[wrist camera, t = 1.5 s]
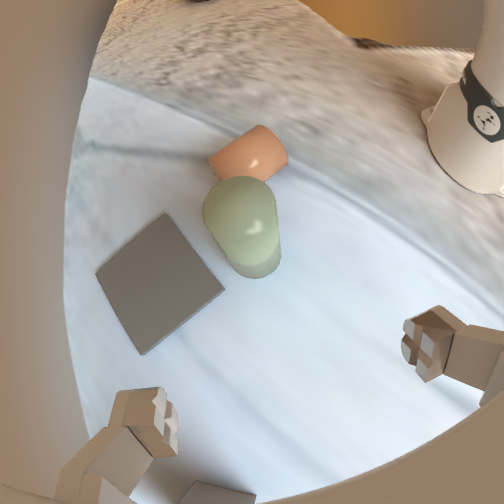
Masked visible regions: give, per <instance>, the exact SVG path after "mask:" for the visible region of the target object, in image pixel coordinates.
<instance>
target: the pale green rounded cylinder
mask: <svg viewBox="0 0 504 504" xmlns="http://www.w3.org/2000/svg"><path fill="white" fill-rule="evenodd" d="M202 215H203V220H204V223H205V225H206V227H207V228H208V230H209V231H210V233H211V234H212V236H213V237H214V239H215V240H216V242H217V243H218V245H219V246H220V248H221V249H222V251H223V252H224V254H225V255H226V257H227V258H228V260H229V261H230V263H231V264H232V266H233V267H234V269H235V270H236V271H237V272H238V273H239V274H240V275H242V276H244V277H247V278H251V279H258V278H263V277H266V276H268V275H269V274H271V273H272V272H273V271H274V270H275V269H276V268H277V266H278V265H279V262H280V259H281V245H280V235H279V226H278V217H277V208H276V200H275V197H274V194H273V192H272V191H271V189H270V188H269V187H268V186H267V185H266V184H265V183H264V182H262V181H261V180H259V179H257V178H254V177H250V176H235V177H231V178H228V179H225V180H223V181H221V182H220V183H218V184H217V185H216V186H214V187H213V188H212V189H211V190H210V192H209V193H208V195H207V196H206V198H205V201H204V204H203V209H202Z"/></svg>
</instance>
